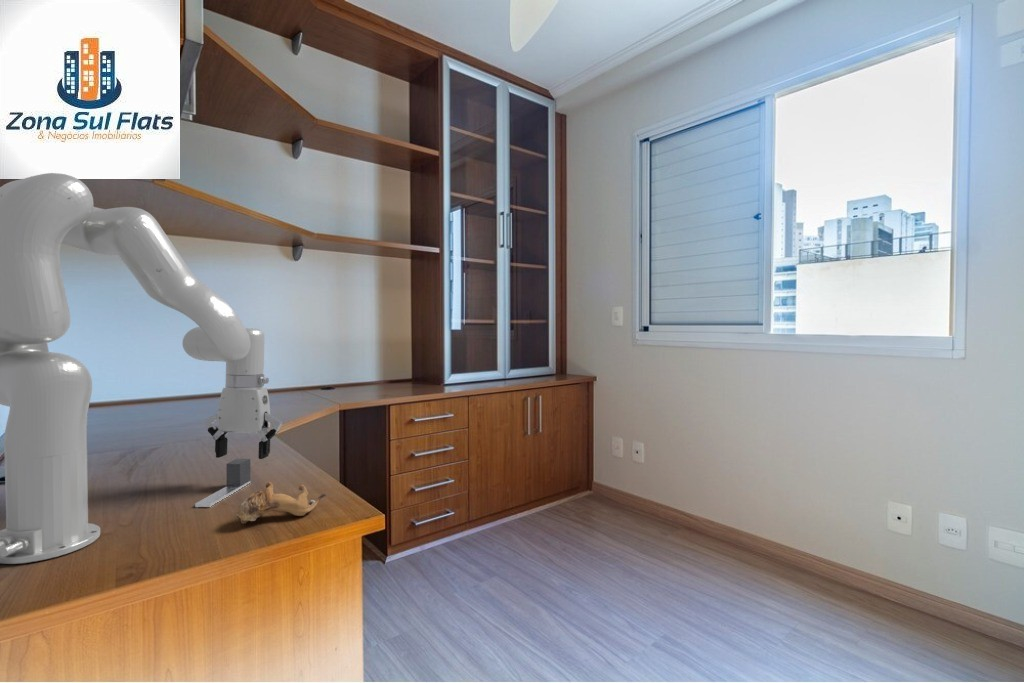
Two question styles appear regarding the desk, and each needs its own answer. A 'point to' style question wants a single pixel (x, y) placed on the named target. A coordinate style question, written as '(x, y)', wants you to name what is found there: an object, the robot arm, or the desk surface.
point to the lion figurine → (274, 504)
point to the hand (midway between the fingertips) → (242, 456)
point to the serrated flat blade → (230, 482)
